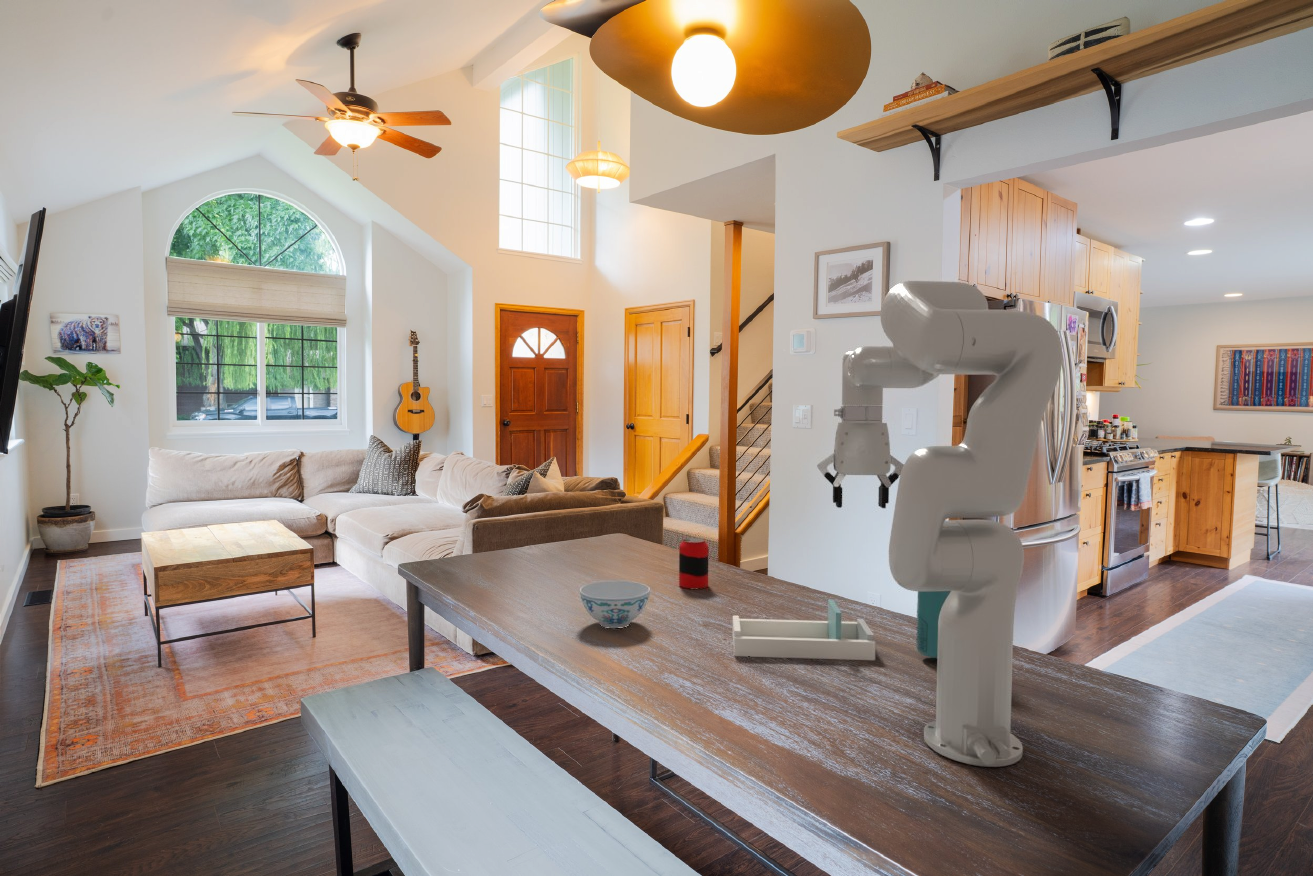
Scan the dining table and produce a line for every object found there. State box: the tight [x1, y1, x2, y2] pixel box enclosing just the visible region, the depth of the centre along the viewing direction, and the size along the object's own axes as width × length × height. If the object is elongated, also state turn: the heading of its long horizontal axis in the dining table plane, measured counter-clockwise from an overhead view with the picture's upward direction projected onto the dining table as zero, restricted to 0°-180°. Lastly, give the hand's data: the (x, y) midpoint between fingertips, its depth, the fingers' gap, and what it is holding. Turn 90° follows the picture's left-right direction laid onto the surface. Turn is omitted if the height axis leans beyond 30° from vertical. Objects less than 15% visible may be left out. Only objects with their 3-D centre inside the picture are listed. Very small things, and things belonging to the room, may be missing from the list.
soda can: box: [678, 537, 710, 589], centre depth 187 cm, size 8×8×12 cm
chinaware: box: [579, 580, 651, 628], centre depth 154 cm, size 15×15×8 cm
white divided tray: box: [731, 615, 876, 661], centre depth 140 cm, size 12×26×4 cm, turn 86°
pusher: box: [827, 598, 842, 639], centre depth 140 cm, size 9×1×8 cm, turn 176°
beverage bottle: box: [915, 591, 951, 659], centre depth 133 cm, size 6×7×20 cm
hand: (860, 506), depth 138 cm, fingers open, 7 cm apart
